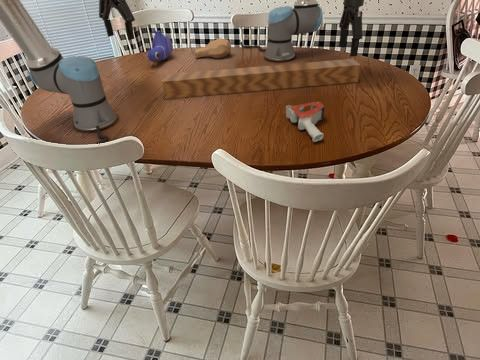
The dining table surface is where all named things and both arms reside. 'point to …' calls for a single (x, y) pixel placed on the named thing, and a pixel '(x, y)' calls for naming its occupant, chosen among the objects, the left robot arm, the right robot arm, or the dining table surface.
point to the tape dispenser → (307, 118)
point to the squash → (215, 49)
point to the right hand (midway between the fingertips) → (347, 51)
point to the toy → (160, 47)
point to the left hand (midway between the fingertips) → (121, 37)
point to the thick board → (260, 78)
